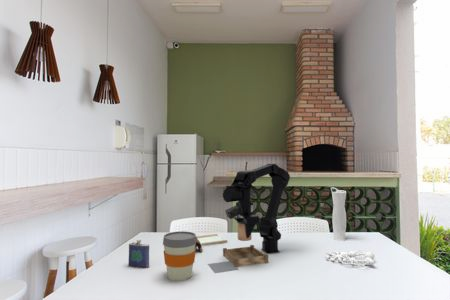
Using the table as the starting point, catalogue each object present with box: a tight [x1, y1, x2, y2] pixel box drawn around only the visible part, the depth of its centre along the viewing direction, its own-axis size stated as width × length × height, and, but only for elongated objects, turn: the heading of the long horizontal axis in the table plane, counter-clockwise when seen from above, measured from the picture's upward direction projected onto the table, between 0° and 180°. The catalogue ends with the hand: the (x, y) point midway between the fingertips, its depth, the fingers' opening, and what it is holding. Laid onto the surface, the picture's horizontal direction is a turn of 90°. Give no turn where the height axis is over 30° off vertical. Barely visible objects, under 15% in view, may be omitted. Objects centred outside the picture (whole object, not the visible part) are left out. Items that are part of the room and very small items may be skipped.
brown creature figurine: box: [195, 237, 203, 253], centre depth 137 cm, size 12×10×8 cm
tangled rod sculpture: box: [324, 249, 375, 267], centre depth 124 cm, size 19×14×4 cm
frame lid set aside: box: [196, 233, 228, 247], centre depth 154 cm, size 14×14×1 cm
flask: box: [128, 239, 150, 269], centre depth 118 cm, size 9×3×11 cm, turn 74°
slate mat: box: [207, 260, 240, 274], centre depth 117 cm, size 10×10×1 cm
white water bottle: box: [330, 187, 347, 242], centre depth 158 cm, size 8×8×28 cm
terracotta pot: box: [237, 221, 252, 242], centre depth 126 cm, size 6×6×7 cm
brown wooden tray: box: [222, 244, 269, 268], centre depth 126 cm, size 15×15×4 cm
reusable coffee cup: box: [162, 230, 197, 282], centre depth 109 cm, size 12×13×15 cm
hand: (244, 235), depth 126 cm, fingers closed on terracotta pot, 6 cm apart
